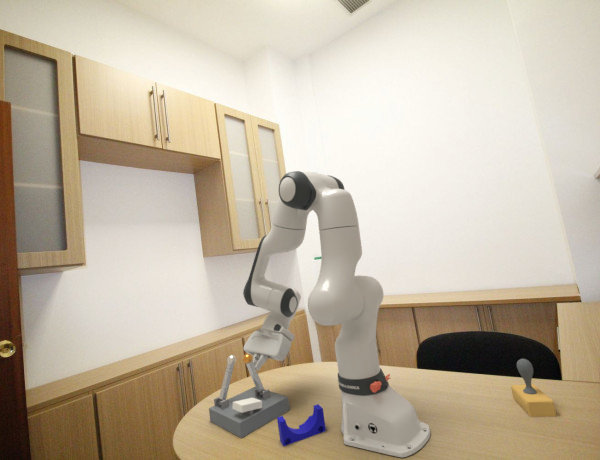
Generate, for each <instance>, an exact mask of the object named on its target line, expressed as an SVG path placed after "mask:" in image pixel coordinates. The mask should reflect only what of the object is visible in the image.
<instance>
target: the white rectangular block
mask: <svg viewBox="0 0 600 460" xmlns="http://www.w3.org/2000/svg"><path fill="white" fill-rule="evenodd" d="M259 408H262V401H261V400H258V399H255V398H248V399H244V400H239V401H235V402H233V408H232V409H234V410H237V411H239V412H241V413H243V412H247V411H251V410H255V409H259Z"/></svg>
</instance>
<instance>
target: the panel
mask: <svg viewBox="0 0 600 460" xmlns="http://www.w3.org/2000/svg"><path fill="white" fill-rule="evenodd" d="M262 393H263V396H260V395H258V391H257V388H256V386H254V387H251V388H249V389H247V390H245V391H243V392H241V393H239V394H235V396H232V397H230V398H226V400H224V401H222V402H221V406H220V405H218V404H217V400H218V399H219V396H218V397H216V398H213V402H214V404H213V406H210V407H209V408H208V412H209V413H208V414H209V421H210V422H211V423H212V424H214V425H216V426H217V427H219V428H222V429H223V430H225V431H226V432H229V433H231V434H233V435H235V436H237V437H238V438H240V439H243V438H244V437H246V436H247V435H249V434H251V433H253V432H255V431H256V430H258V429H260V428H262V427H263V426H265V425H266V424H268V423H270V422H272V421H273V420H275V419H277V417H281V416H283V414H286V413H288V412H289V411H290V410H291V409H290V401H289V396H286V395H283V394H280V393H277V392H274V391H271V390H270V389H269V388H268V389H265V390H264V392H262ZM248 398H255V399H258V400H261V401H262V408H259V409H255V410H251V411H247V412H243V413H241V412H239V411H237V410H234V409H232V408H233V402H235V401H239V400H244V399H248Z"/></svg>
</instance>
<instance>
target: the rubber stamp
mask: <svg viewBox="0 0 600 460" xmlns="http://www.w3.org/2000/svg"><path fill="white" fill-rule="evenodd" d="M516 368H517V371H518V373H519V374H520V376H521V378H522V379H523V381H524V384H511V385H510V389H511V394H512V398H513V399H514V401H516V403H517V404H518V405H519V406H520V408H521V409H522V410H523V411H524V412H525V413H526V414H527V415H528V416H529V417H530V418H537V417H538V418H540V417H556V416H557V412H556V408H555V403H554V400H553V399H552V398H550V397H549V396H548V394H546V393H544V392H543V391H542V390H541V389H540V388H539V387H537V385H535V384H533V383H532V379H533V376H534V367H533V364H532V362H530V361H529V360H528V359H526V358H520V359H519V360H517V362H516Z"/></svg>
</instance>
